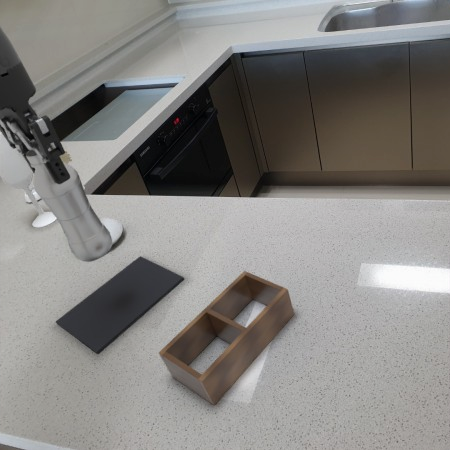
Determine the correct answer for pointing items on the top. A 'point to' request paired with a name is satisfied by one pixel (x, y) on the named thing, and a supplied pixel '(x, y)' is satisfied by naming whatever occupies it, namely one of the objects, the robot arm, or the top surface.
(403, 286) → the top surface
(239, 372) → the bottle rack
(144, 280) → the mat
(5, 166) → the champagne flute
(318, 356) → the top surface
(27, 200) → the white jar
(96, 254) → the plastic bottle
